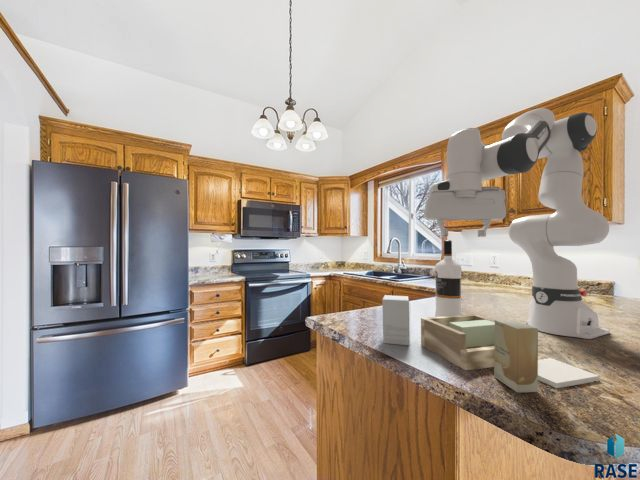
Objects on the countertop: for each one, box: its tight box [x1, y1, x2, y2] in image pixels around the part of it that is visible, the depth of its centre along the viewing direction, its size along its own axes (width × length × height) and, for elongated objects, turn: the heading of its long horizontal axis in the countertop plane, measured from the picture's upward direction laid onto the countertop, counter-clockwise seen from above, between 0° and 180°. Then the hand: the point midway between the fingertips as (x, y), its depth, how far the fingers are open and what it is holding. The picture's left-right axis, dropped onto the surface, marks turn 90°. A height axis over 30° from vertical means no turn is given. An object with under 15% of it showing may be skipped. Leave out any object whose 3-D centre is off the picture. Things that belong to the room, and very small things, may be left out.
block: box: [449, 320, 495, 347], centre depth 69 cm, size 12×4×5 cm, turn 105°
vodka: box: [434, 239, 463, 317], centre depth 92 cm, size 9×9×30 cm
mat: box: [538, 357, 601, 389], centre depth 57 cm, size 12×9×1 cm
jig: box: [420, 313, 496, 371], centre depth 69 cm, size 18×16×8 cm
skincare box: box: [493, 318, 539, 394], centre depth 53 cm, size 6×4×12 cm
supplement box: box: [381, 294, 411, 346], centre depth 78 cm, size 7×7×13 cm
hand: (462, 236), depth 73 cm, fingers open, 8 cm apart
